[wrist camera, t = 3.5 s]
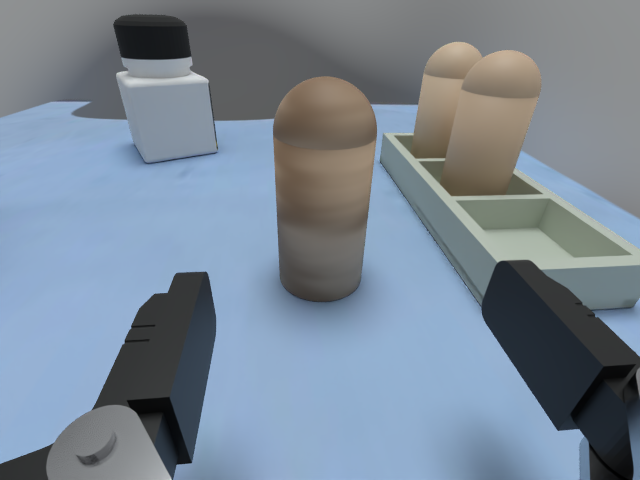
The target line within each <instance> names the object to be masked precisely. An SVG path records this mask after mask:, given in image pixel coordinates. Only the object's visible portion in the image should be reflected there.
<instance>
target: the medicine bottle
mask: <svg viewBox="0 0 640 480" xmlns="http://www.w3.org/2000/svg"><path fill="white" fill-rule="evenodd" d="M113 25H114V29H115V34H116V38H117V41H118V45H119V49H120V54H121V58H122V62H123V66H124V67H127V68H128V71H124V72H119V73H117V74H116V78H117V81H118V85H119V89H120V93H121V97H122V101H123V104H124V108H125V112H126V116H127V120H128V124H129V128H130V131H131V135H132V139H133V142H134V144H135V146H136V147H137V149H138V151H139V152H140V154H141V156H142V157H143V159H144V161H145V162H146V163H153V162H159V161H166V160H172V159H178V158H185V157H191V156H197V155H204V154H210V153H216V152H217V151H218V147H217V139H216V132H215V124H214V117H213V109H212V101H211V94H210V86H209V81H208V80H207V79H206V78H204V77H202V76H200V75H198V74H196V73H194V72H192V71H190V68H189V66H192V58H191V51H190V45H189V39H188V32H187V25H186V24H185V23H184V22H183V21H181V20H180V19H178V18H176V17H172V16H165V15H126V16H121V17H120V18H118V19H117V20H115V22H114V24H113Z"/></svg>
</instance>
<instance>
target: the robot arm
mask: <svg viewBox="0 0 640 480" xmlns="http://www.w3.org/2000/svg"><path fill="white" fill-rule="evenodd" d="M582 303H583V302H582V301H581V300H580V299H578V298H577V297H576V296H575V295H574V294H573V293H572V292H571V291H570V290H569V289H568V288H566V287H565V286H563V285H561V284H560V283H558V282H556V281H555V280H553V279H552V278H550V277H548V276H547V275H546V274H545V273H544V272H543V271H542V270H540V269H539V268H538V267H537V266H536V265H535V264H534V263H533V262H532V261H530V260H503V261H499V262H498V263H497V264H496V266H495V268H494V271H493V273H492V276H491V279H490V281H489V284H488V287H487V290H486V292H485V295H484V298H483V301H482V315H483V318H484V321H485V322H486V324H487V326H488V327H489V329H490V330H491V332H492V333H493V335H494V336H495V338H496V339H497V341H498V342H499V344H500V345H501V347H502V348H503V350H504V351H505V353H506V354H507V356H508V357H509V359H510V360H511V362H512V363H513V365H514V366H515V368H516V369H517V371H518V372H519V374H520V375H521V377H522V378H523V379H524V381H525V382H526V384H527V385H528V387H529V388H530V390H531V391H532V393H533V394H534V396H535V397H536V399H537V400H538V402H539V403H540V405H541V406H542V408H543V409H544V411H545V412H546V414H547V415H548V417H549V418H550V420H551V421H552V423H553V424H554V426H555V427H556V429H557V430H558V431H561V430H572V429H580V431H581V432H582V433H583V435H584V437H583V439H582V440H581V442H580V446H579V460H580V480H640V357H639V356H638V355H637V354H636V353H635V352H634V351H633V350H632V349H631V348H630V347H629V346H628V345H627V344H626V343H625V342H624V341H622V340H621V339H620V338H619V337H618V336H617V335H616V334H615V333H614V332H613V331H612V330H611V329H610V328H609V327H608V326H607V325H606V324H605V323H604V322H603V321H602V320H600V319H599V318H598V317H597V318H596V317H595V314H594V313H593V312H592V311H591V310H590V309H589V308H588V307H587V306H586V305H583V304H582ZM215 336H216V314H215V308H214V303H213V297H212V292H211V286H210V281H209V276H208V273H207V272H186V273H176V274H175V276H174V278H173V281H172V283H171V286H170V288H169V291H168V293H160V294H154V295H153V296H152V297H151V298H150V299H149V300H148V301H147V302H146V303H145V304H144V305H143V306H141V307H140V308H139V310H138V312H137V315H136V317H135V319H134V321H133V323H132V325H131V329H130V330H129V332H128V334H127V336H126V339H125V344H123V345H122V347H121V349H120V352H119V354H118V356H117V358H116V360H115V362H114V365H113V367H112V369H111V371H110V373H109V376H108V378H107V380H106V382H105V384H104V386H103V389H102V391H101V393H100V395H99V397H98V399H97V402H96V404H95V405H94V407H93V409H92V410H91V411H90V412H88V413H86V414H84V415H82V416H81V417H79V418H78V419H76V420H75V421H74V422H72V423H71V424H70V425H69V426H68V427H67V428H66V429H65V430H64V431H63V432H62V433H61V434H60V435H59V437H58V438H57V439H56V441H55V442H54V443H53V444H51V445H49V446H47V447H45V448H42V449H40V450H37V451H34V452H32V453H29V454H26V455H23V456H21V457H18V458H15V459H13V460H10V461H7V462H4V463H2V464H0V480H173V478H174V473H175V469H176V465H178V464H188V463H192V460H193V454H194V449H195V444H196V438H197V433H198V428H199V422H200V417H201V412H202V406H203V401H204V396H205V390H206V385H207V379H208V374H209V369H210V363H211V358H212V353H213V347H214V342H215Z"/></svg>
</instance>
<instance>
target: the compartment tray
mask: <svg viewBox="0 0 640 480" xmlns="http://www.w3.org/2000/svg"><path fill="white" fill-rule="evenodd" d="M540 91H541V75H540V71H539V69H538V67H537V65H536V64H535V62H534V61H533V60H532V59H531V58H530V57H528V56H527V55H525V54H523V53H521V52H517V51H511V50H505V51H498V52H495V53H492V54H489V55H487V56H485V57H484V58H482V56H481V54H480V53H479V51H478V50H477V49H476V48H475V47H473V46H472V45H470V44H468V43H464V42H453V43H450V44H447V45H444V46H443V47H441V48H439V49H438V50H437V51H436V52H435V53H434V54H433V55H432V56H431V57H430V59H429V60H428V62H427V64H426V67H425V70H424V75H423V81H422V87H421V93H420V99H419V105H418V111H417V117H416V123H415V129H414V133H383V139H382V147H381V155H380V162H381V163H382V165H383V166H384V167H385V169H386V170H387V172H388V173H389V175H390V176H391V177H392V179H393V180H394V182H395V183H396V185H397V186H398V188H399V189H400V190H401V192H402V193H403V195H404V196H405V198H406V199H407V200H408V202H409V203H410V205H411V206H412V208H413V209H414V210H415V212H416V213H417V215H418V216H419V218H420V219H421V220H422V222H423V223H424V225H425V226H426V228H427V229H428V231H429V232H430V233H431V235H432V236H433V238H434V239H435V241H436V242H437V243H438V245H439V246H440V248H441V249H442V251H443V252H444V253H445V255H446V256H447V258H448V259H449V261H450V262H451V264H452V265H453V266H454V268H455V269H456V271H457V272H458V274H459V275H460V276H461V278H462V279H463V281H464V282H465V284H466V285H467V286H468V288H469V289H470V291H471V292H472V294H473V295H474V296H475V298H476V299H477V301H478V302H479V304H480V305H481V307H482V301H483V298H484V295H485V292H486V290H487V287H488V284H489V281H490V279H491V276H492V273H493V271H494V268H495V266H496V264H497V263H498V262H499V261H503V260H530V261H532V262H533V263H534V264H535V265H536V266H537V267H538V268H539V269H540V270H542V271H543V272H544V273H545V274H546V275H547V276H548V277H550V278H552V279H553V280H555V281H556V282H558V283H560V284H561V285H563V286H565V287H566V288H568V289H569V290H570V291H571V292H572V293H573V294H574V295H575V296H576V297H577V298H578V299H580V300H581V301H582V302H583V303H582V304H583V305H586V306H587V307H588V308H589V309H590V310H595V309H612V308H629V307H634V305H635V304H636V302H637V301H638V299H639V298H640V249H639V248H637V247H635V246H634V245H632V244H631V243H629V242H628V241H626V240H625V239H623V238H622V237H620V236H619V235H617V234H616V233H614V232H612V231H611V230H609V229H608V228H606V227H605V226H603V225H602V224H600V223H599V222H597V221H596V220H594V219H593V218H591V217H590V216H588V215H586V214H585V213H583V212H582V211H580V210H579V209H577V208H576V207H574V206H573V205H571V204H570V203H568V202H567V201H565V200H564V199H562V198H560V197H559V196H557V195H556V194H554V193H553V192H551V191H550V190H548V189H547V188H545V187H544V186H542V185H541V184H539V183H537V182H536V181H534V180H533V179H531V178H530V177H528V176H527V175H525V174H524V173H522V172H521V171H519V170H518V169H516V168H515V166H516V163H517V160H518V157H519V154H520V151H521V148H522V145H523V142H524V139H525V136H526V133H527V130H528V127H529V124H530V121H531V118H532V115H533V112H534V109H535V106H536V104H537V101H538V98H539V94H540Z"/></svg>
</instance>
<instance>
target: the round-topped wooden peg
mask: <svg viewBox="0 0 640 480" xmlns="http://www.w3.org/2000/svg"><path fill="white" fill-rule="evenodd" d="M376 138H377V125H376V119H375V114H374V111H373V109H372V106H371V105H370V103H369V101H368V100H367V98H366V97H365V95H364V94H363V93H362V92H361V91H360V90H359V89H358V88H356V87H355V86H354V85H352V84H351V83H349V82H347V81H345V80H342V79H339V78H334V77H315V78H312V79H309V80H306V81H304V82H302V83H300V84H298V85H297V86H295V87H294V88H293V89H292V90H291V91H289V92H288V94H287V95H286V96H285V97H284V99H283V100H282V102H281V103H280V105H279V107H278V109H277V112H276V115H275V119H274V125H273V140H274V162H275V183H276V204H277V226H278V247H279V268H280V280H281V283H282V285H283V286H284V287H285V289H286V290H287V291H289V292H290V293H291V294H293V295H295V296H297V297H299V298H302V299H305V300H309V301H316V302H327V301H334V300H338V299H342V298H344V297H346V296H348V295H350V294H351V293H352V292H354V291H355V290H356V289H357V287H358V286H359V284H360V281H361V273H362V264H363V255H364V246H365V237H366V228H367V219H368V210H369V201H370V192H371V183H372V174H373V165H374V156H375V147H376Z"/></svg>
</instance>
